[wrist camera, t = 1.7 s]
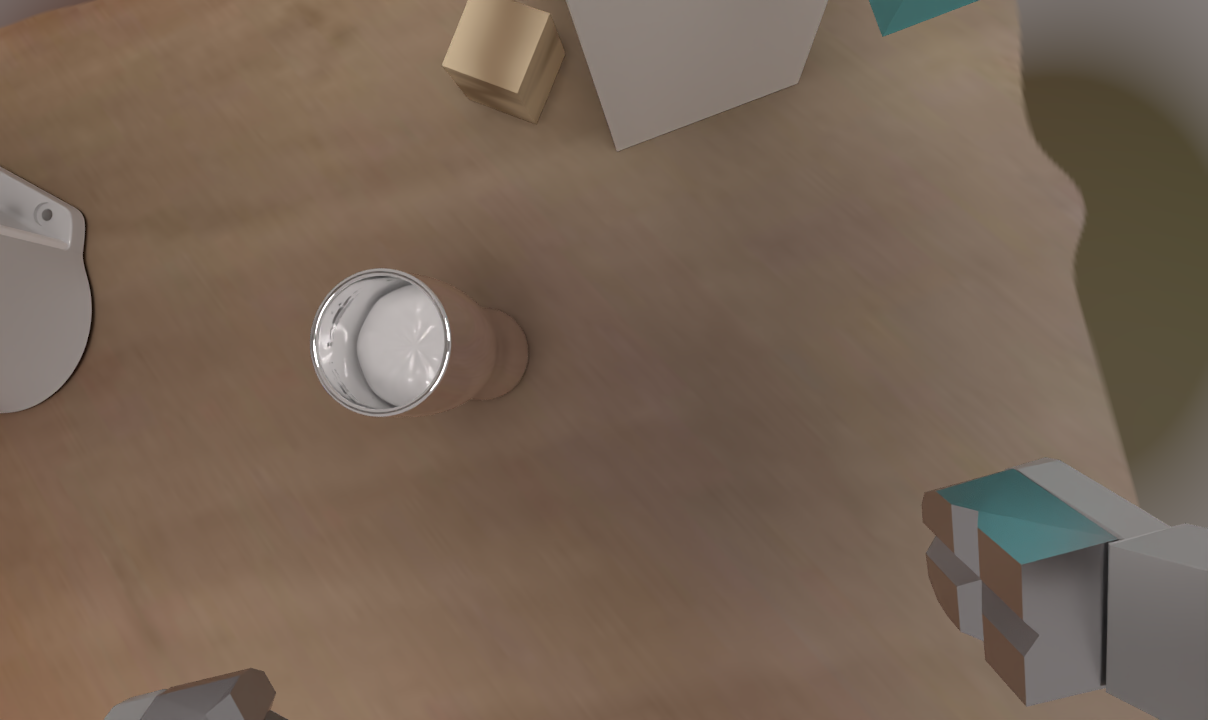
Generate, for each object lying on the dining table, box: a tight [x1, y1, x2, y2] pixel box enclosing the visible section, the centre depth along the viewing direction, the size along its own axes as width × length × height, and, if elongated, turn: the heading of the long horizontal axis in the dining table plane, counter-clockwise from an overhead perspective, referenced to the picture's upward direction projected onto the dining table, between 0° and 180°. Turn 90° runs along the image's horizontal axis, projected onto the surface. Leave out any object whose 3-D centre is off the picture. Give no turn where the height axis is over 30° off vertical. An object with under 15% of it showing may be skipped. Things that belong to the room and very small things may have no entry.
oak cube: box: [442, 0, 565, 125], centre depth 42 cm, size 5×5×5 cm
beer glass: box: [310, 268, 529, 417], centre depth 37 cm, size 7×7×15 cm
